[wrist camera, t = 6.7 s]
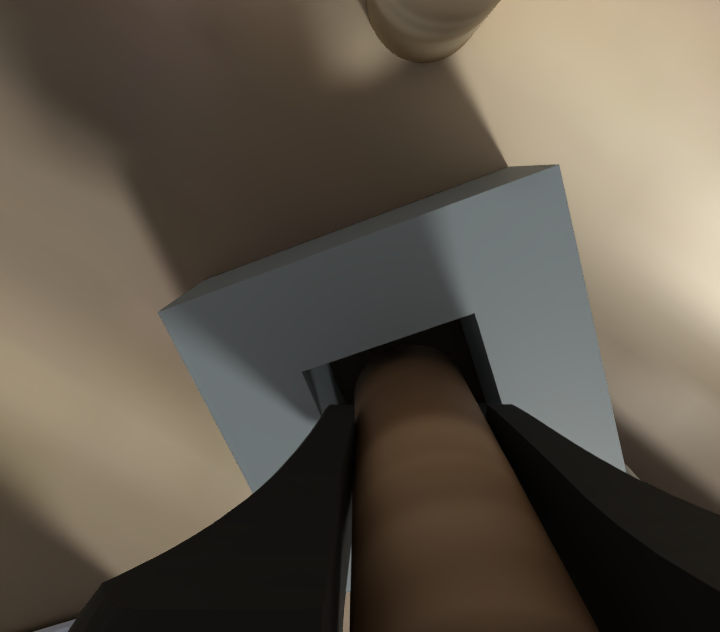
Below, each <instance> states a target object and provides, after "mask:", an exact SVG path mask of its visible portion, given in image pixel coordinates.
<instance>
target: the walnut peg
mask: <svg viewBox="0 0 720 632" xmlns="http://www.w3.org/2000/svg"><path fill="white" fill-rule="evenodd" d="M354 405H355V439H354V458H353V490H352V540H351V590H350V632H599V630H598V628H597V626H596V624H595V622H594V620H593V619H592V617H591V615H590V613H589V611H588V609H587V607H586V606H585V604H584V602H583V600H582V598H581V596H580V594H579V592H578V591H577V589H576V587H575V585H574V583H573V581H572V579H571V578H570V576H569V574H568V572H567V570H566V568H565V566H564V564H563V563H562V561H561V559H560V557H559V555H558V553H557V551H556V550H555V548H554V546H553V544H552V542H551V540H550V538H549V536H548V535H547V533H546V531H545V529H544V527H543V525H542V523H541V521H540V520H539V518H538V516H537V514H536V512H535V510H534V508H533V507H532V505H531V503H530V501H529V499H528V497H527V495H526V493H525V492H524V490H523V488H522V486H521V484H520V482H519V480H518V479H517V477H516V475H515V473H514V471H513V469H512V467H511V465H510V464H509V462H508V460H507V458H506V456H505V454H504V452H503V451H502V449H501V447H500V445H499V443H498V441H497V439H496V437H495V436H494V434H493V432H492V430H491V428H490V426H489V424H488V423H487V421H486V419H485V417H484V415H483V413H482V411H481V409H480V408H479V406H478V404H477V402H476V400H475V398H474V396H473V395H472V393H471V391H470V389H469V387H468V385H467V383H466V381H465V380H464V378H463V376H462V374H461V372H460V370H459V369H458V367H457V366H456V364H455V363H454V362H453V361H452V360H451V359H450V358H449V357H447V356H446V355H445V354H443V353H441V352H440V351H438V350H436V349H433V348H430V347H427V346H422V345H402V346H397V347H393V348H390V349H388V350H386V351H384V352H382V353H380V354H379V355H377V356H376V357H374V358H373V359H372V360H371V361H370V362H369V363H368V364H367V365H366V366H365V367H364V369H363V370H362V372H361V374H360V376H359V378H358V380H357V383H356V387H355V395H354Z"/></svg>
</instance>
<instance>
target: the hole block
mask: <svg viewBox="0 0 720 632" xmlns="http://www.w3.org/2000/svg"><path fill="white" fill-rule="evenodd" d="M158 314H159V316H160V318H161V320H162V321H163V323H164V325H165V327H166V329H167V331H168V333H169V335H170V337H171V339H172V340H173V342H174V344H175V346H176V348H177V350H178V352H179V354H180V356H181V358H182V359H183V361H184V363H185V365H186V367H187V369H188V371H189V373H190V375H191V377H192V378H193V380H194V382H195V384H196V386H197V388H198V390H199V392H200V394H201V396H202V397H203V399H204V401H205V403H206V405H207V407H208V409H209V411H210V413H211V415H212V416H213V418H214V420H215V422H216V424H217V426H218V428H219V430H220V432H221V434H222V435H223V437H224V439H225V441H226V443H227V445H228V447H229V449H230V451H231V453H232V454H233V456H234V458H235V460H236V462H237V464H238V466H239V468H240V470H241V472H242V473H243V475H244V477H245V479H246V481H247V483H248V485H249V487H250V489H251V491H252V492H253V493H254V492H255V491H257V490H258V489H259V488H260V487H261V486H262V485H263V484H264V483H265V482H267V481H268V480H269V479H270V478H271V477H272V476H273V475H274V474H275V473H276V472H277V471H278V470H279V469H280V467H281V466H282V465H283V464H284V463H285V462H286V461H287V460H288V459H289V457H290V456H291V455H292V454H293V453H294V452H295V451H296V450H297V448H298V447H299V446H300V445H301V443H302V442H303V441H304V439H305V438H306V437H307V436H308V434H309V433H310V432H311V430H312V429H313V427H314V426H315V425H316V423H317V422H318V420H319V419H320V417H321V415H322V414H323V412H324V410H325V409H326V408H327V407H328V406H329V405H347V404H346V402H345V399H344V397H343V394H342V392H341V390H340V387H339V385H338V383H337V380H336V378H335V375H334V373H333V371H332V368H331V366H330V362H332V361H335V360H338V359H341V358H344V357H347V356H350V355H353V354H356V353H359V352H362V351H365V350H368V349H371V348H374V347H377V346H379V345H382V344H385V343H388V342H391V341H394V340H397V339H400V338H403V337H406V336H409V335H412V334H415V333H418V332H421V331H424V330H426V329H429V328H432V327H435V326H438V325H441V324H444V323H447V322H450V321H453V320H456V319H459V318H460V321H461V325H462V328H463V331H464V334H465V337H466V341H467V344H468V347H469V350H470V353H471V357H472V360H473V363H474V366H475V369H476V372H477V376H478V379H479V382H480V385H481V388H482V392H483V395H484V398H485V402H482V403H479V404H478V406H479V408H480V409H481V411H482V413H483V415H484V417H485V418H486V408H487V404H513V405H515V406H516V407H518V408H520V409H522V410H523V411H525V412H527V413H528V414H530V415H531V416H533V417H535V418H536V419H538V420H539V421H541V422H542V423H544V424H545V425H547V426H548V427H550V428H552V429H553V430H555V431H556V432H558V433H559V434H561V435H562V436H564V437H566V438H567V439H569V440H570V441H572V442H573V443H575V444H577V445H578V446H580V447H582V448H583V449H585V450H587V451H588V452H590V453H592V454H593V455H595V456H597V457H598V458H600V459H602V460H604V461H606V462H607V463H609V464H611V465H613V466H614V467H616V468H618V469H620V470H622V471H623V472H625V473H626V469H625V464H624V460H623V455H622V450H621V446H620V441H619V437H618V432H617V428H616V423H615V418H614V414H613V409H612V405H611V400H610V396H609V391H608V386H607V382H606V377H605V373H604V368H603V363H602V359H601V354H600V350H599V345H598V341H597V336H596V331H595V327H594V322H593V318H592V313H591V308H590V304H589V299H588V295H587V290H586V286H585V281H584V276H583V272H582V267H581V263H580V258H579V253H578V249H577V244H576V240H575V235H574V231H573V226H572V221H571V217H570V212H569V208H568V203H567V198H566V194H565V189H564V185H563V180H562V176H561V171H560V166H559V164H557V165H535V166H514V167H507V168H504V169H501V170H499V171H496V172H493V173H491V174H488V175H485V176H483V177H480V178H477V179H474V180H472V181H469V182H466V183H464V184H461V185H458V186H456V187H453V188H450V189H448V190H445V191H442V192H440V193H437V194H434V195H431V196H429V197H426V198H423V199H421V200H418V201H415V202H413V203H410V204H407V205H405V206H402V207H399V208H396V209H394V210H391V211H388V212H386V213H383V214H380V215H378V216H375V217H372V218H370V219H367V220H364V221H362V222H359V223H356V224H353V225H351V226H348V227H345V228H343V229H340V230H337V231H335V232H332V233H329V234H327V235H324V236H321V237H318V238H316V239H313V240H310V241H308V242H305V243H302V244H300V245H297V246H294V247H292V248H289V249H286V250H284V251H281V252H278V253H275V254H273V255H270V256H267V257H265V258H262V259H259V260H257V261H254V262H251V263H249V264H246V265H243V266H240V267H238V268H235V269H232V270H230V271H227V272H224V273H222V274H219V275H216V276H214V277H211V278H208V279H206V280H204V281H202V282H201V283H199V284H198V285H196V286H195V287H193V288H192V289H191V290H189V291H188V292H186V293H185V294H183V295H182V296H180V297H179V298H177V299H176V300H175V301H173V302H172V303H170V304H169V305H167V306H166V307H164V308H163V309H161V310H160V311H159V312H158ZM350 590H351V551H350V560H349V569H348V577H347V586H346V592H350Z"/></svg>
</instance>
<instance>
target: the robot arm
mask: <svg viewBox="0 0 720 632" xmlns="http://www.w3.org/2000/svg"><path fill="white" fill-rule="evenodd" d="M485 419H486V421H487V423H488V424H489V426H490V428H491V430H492V432H493V434H494V436H495V437H496V439H497V441H498V443H499V445H500V447H501V449H502V451H503V452H504V454H505V456H506V458H507V460H508V462H509V464H510V465H511V467H512V469H513V471H514V473H515V475H516V477H517V479H518V480H519V482H520V484H521V486H522V488H523V490H524V492H525V493H526V495H527V497H528V499H529V501H530V503H531V505H532V507H533V508H534V510H535V512H536V514H537V516H538V518H539V520H540V521H541V523H542V525H543V527H544V529H545V531H546V533H547V535H548V536H549V538H550V540H551V542H552V544H553V546H554V548H555V550H556V551H557V553H558V555H559V557H560V559H561V561H562V563H563V564H564V566H565V568H566V570H567V572H568V574H569V576H570V578H571V579H572V581H573V583H574V585H575V587H576V589H577V591H578V592H579V594H580V596H581V598H582V600H583V602H584V604H585V606H586V607H587V609H588V611H589V613H590V615H591V617H592V619H593V620H594V622H595V624H596V626H597V628H598V630H599V632H720V515H718V514H715V513H713V512H710V511H708V510H705V509H703V508H700V507H698V506H695V505H693V504H691V503H688V502H686V501H684V500H681V499H679V498H677V497H675V496H672V495H670V494H668V493H666V492H664V491H662V490H660V489H658V488H656V487H654V486H651V485H649V484H647V483H645V482H643V481H641V480H639V479H637V478H635V477H633V476H631V475H629V474H627V473H625V472H623V471H622V470H620V469H618V468H616V467H614V466H613V465H611V464H609V463H607V462H606V461H604V460H602V459H600V458H598V457H597V456H595V455H593V454H592V453H590V452H588V451H587V450H585V449H583V448H582V447H580V446H578V445H577V444H575V443H573V442H572V441H570V440H569V439H567V438H566V437H564V436H562V435H561V434H559V433H558V432H556V431H555V430H553V429H552V428H550V427H548V426H547V425H545V424H544V423H542V422H541V421H539V420H538V419H536V418H535V417H533V416H531V415H530V414H528V413H527V412H525V411H523V410H522V409H520V408H518V407H516V406H515V405H513V404H487V408H486V418H485ZM354 439H355V405H329V406H328V407H327V408H326V409H325V410H324V412H323V414H322V415H321V417H320V419H319V420H318V422H317V423H316V425H315V426H314V427H313V429H312V430H311V432H310V433H309V434H308V436H307V437H306V438H305V439H304V441H303V442H302V443H301V445H300V446H299V447H298V448H297V450H296V451H295V452H294V453H293V454H292V455H291V456H290V457H289V459H288V460H287V461H286V462H285V463H284V464H283V465H282V466H281V467H280V469H279V470H278V471H277V472H276V473H275V474H274V475H273V476H272V477H271V478H270V479H269V480H268V481H267V482H265V483H264V484H263V485H262V486H261V487H260V488H259V489H258V490H257V491H255V492H254V493H253V494H252V495H251V496H250V497H249V498H247V499H246V500H245V501H243V502H242V503H241V504H239V505H238V506H236V507H235V508H234V509H232V510H231V511H230V512H228V513H227V514H226V515H224V516H223V517H222V518H220V519H219V520H217V521H216V522H214V523H213V524H211V525H210V526H208V527H207V528H205V529H204V530H202V531H200V532H199V533H197V534H196V535H194V536H192V537H191V538H189V539H187V540H186V541H184V542H182V543H180V544H179V545H177V546H175V547H174V548H172V549H170V550H168V551H166V552H164V553H163V554H161V555H159V556H157V557H155V558H153V559H151V560H149V561H147V562H145V563H143V564H141V565H139V566H137V567H135V568H133V569H131V570H129V571H127V572H125V573H123V574H121V575H119V576H117V577H114V578H112V579H110V580H108V581H106V582H103V583H102V584H101V586H100V587H99V588H98V590H97V591H96V593H95V594H94V595H93V597H92V598H91V599H90V600H89V602H88V603H87V604H86V606H85V607H84V608H83V610H82V611H81V612H80V614H79V615H78V617H77V618H76V619H74V620H71V621H67V622H64V623H61V624H57V625H54V626H50V627H47V628H44V629H40V630H37V631H34V632H343V617H344V604H345V595H346V586H347V577H348V569H349V560H350V551H351V540H352V490H353V458H354Z"/></svg>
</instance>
